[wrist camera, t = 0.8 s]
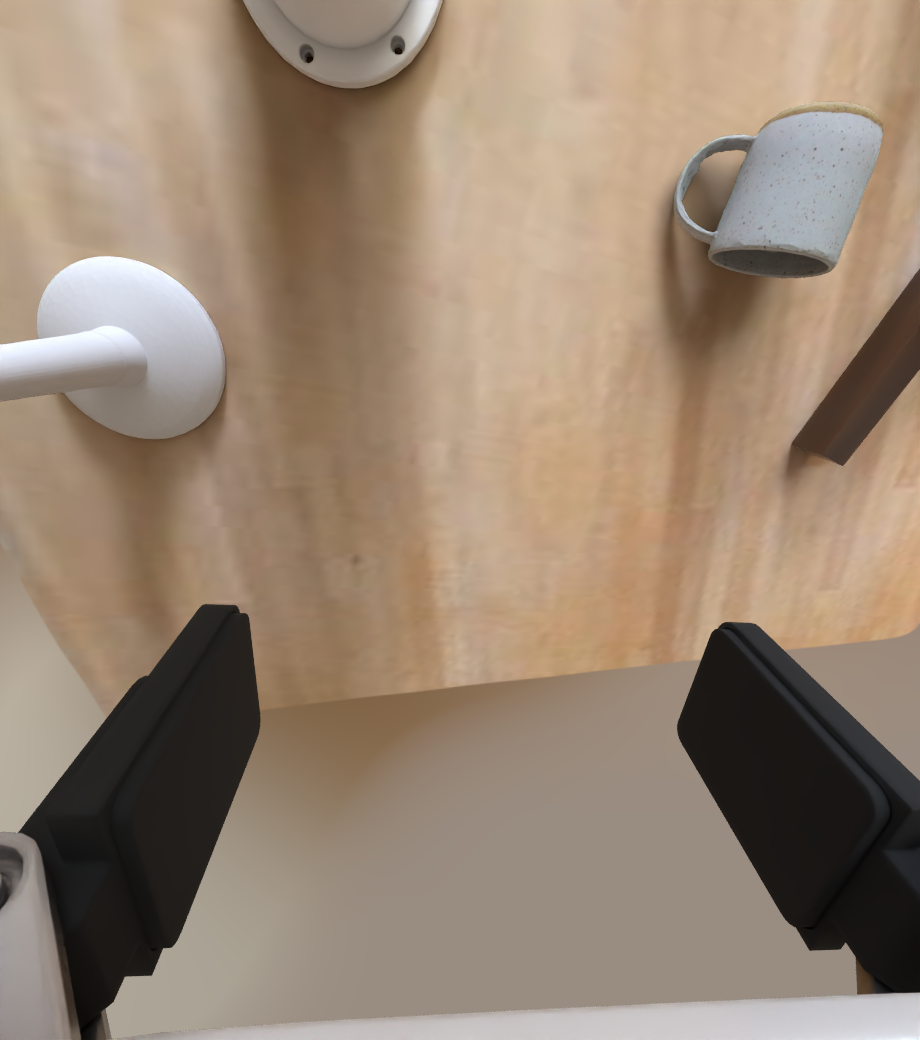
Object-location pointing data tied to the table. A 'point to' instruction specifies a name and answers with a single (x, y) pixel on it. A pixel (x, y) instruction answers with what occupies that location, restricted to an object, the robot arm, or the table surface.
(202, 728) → the robot arm
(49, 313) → the candlestick
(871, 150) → the ceramic mug
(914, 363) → the board
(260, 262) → the table surface
